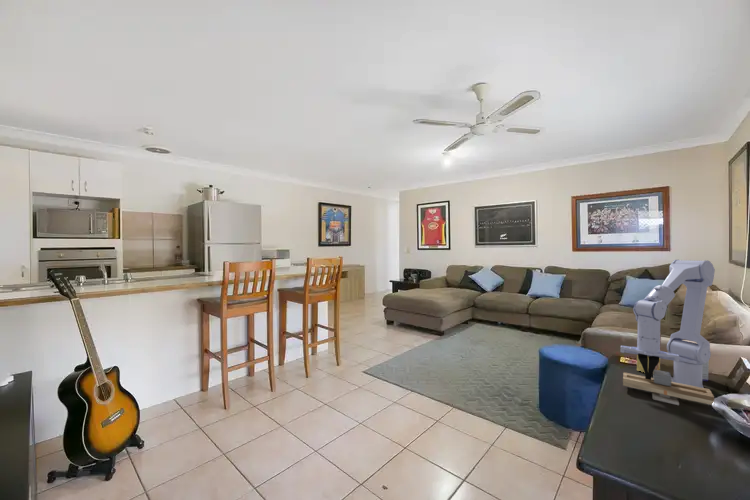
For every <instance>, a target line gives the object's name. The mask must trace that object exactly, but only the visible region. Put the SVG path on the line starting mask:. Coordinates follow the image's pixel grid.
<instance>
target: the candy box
mask: <svg viewBox="0 0 750 500" xmlns="http://www.w3.org/2000/svg"><path fill="white" fill-rule="evenodd" d="M661 335H662V333H661V332H660V349H661V343H662V342H661V340H662V336H661ZM648 368H649V356H648ZM654 370H660V371H661V358H659V363H658V364H657V366H656V367H655V369H654ZM639 371H641V372H640V373H643V372H644V369H643V367H642V364H641V362H640V360H639V358H638V355H637V354H636V372H639ZM644 374H645V372H644Z"/></svg>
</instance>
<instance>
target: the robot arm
mask: <svg viewBox="0 0 750 500" xmlns="http://www.w3.org/2000/svg"><path fill="white" fill-rule="evenodd" d="M668 272H669V273H668V275H667V276H666V278H665V280H663V282H662V283H661V285H655V286H654V287H653V288H652V289H651V290H650V292H649V293H648V294H647V295H645V298H643V299H640V300H637V301H636V302H635V303H634V305H633V308H632V311H633V314H634V315H635V322H637V329H636V330H637V333H636V334H637V339H636V340H637V342H636V346H627V345H620V353H622V354H625V353H627V354H633V355H636V356H637V355H638V358H639V360H640V362H641V364H642V367H643V369H644V372H645V373H644V376H645V378H646V379H650V380H651V378H652V377H653V371H654V369H655V367H656V366H657V364H658V363H659V358H660V360H663V359H664V360H667V361H673V376H671V382H676V383H681V384H686V385H691V386H696V387H701V388H704V385H703V381H702V367H703V364H705V363H706V362H708V361H709V360H710V359H711V355H712V353H711V348H710V347H711V343H710V341H709V340H708V339H706V338H705V337H704V336H703V335H701V330H702V324H703V323H702V322H703V318H704V317H703V316H704V310H705V304H706V298H707V291H708V287H711V286H713V283H714V278H715V272H716V270H715V266H714V265H713V263H712V261H710V260H706V259H705V260H691V259H689V260H687V259H686V260H685V259H684V260H683V259H681V260H680V259H674V260H673V261H671V263H670V265H669V271H668ZM681 285H684V286H685V288H686V291H685V297H684V302H683V310H682V315H681V322H680V328H679V330H678V331H676V332H673V333H671V334H670V337H669V340H668V341H667V342H666V343H667V344H666V351H667V352H666V351H663V350H661V348H660V333H661V320H662V319H663V318H665V315H666V311H667V309H668V306H669V304H670V303H671V302H672V300H673V299H674V298H675V296H676V294H675V291H676V290H677V289H678V288H679V287H680V286H681ZM648 356H649V368H648ZM709 362H710V361H709Z"/></svg>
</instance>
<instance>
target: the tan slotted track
mask: <svg viewBox="0 0 750 500" xmlns="http://www.w3.org/2000/svg"><path fill="white" fill-rule="evenodd" d="M622 374H623V377H622V386H624V387H628V388H632V389H633V388H634V389H637V390H642V391H647V392H651V395H652V397H651V398H652V399H653V400H655V401H658V402H662V403H668V404H672V405H677V406H680V402H679V398H680V399H682V400H683V399H684V400H688V401H693V402H698V403H702V404H707V405H711V406H713V405H712V403H713V402H714V403H715V396H714V394H713V393H712V391H711V389H710V388H706V387H705V388H701V387H696V386H691V385H686V384H681V383H676V382H672V381H671V386H666V385H661V384H656V383H654V380H653V377H651V380H650V379H646V378H645V375H639V374H635V373H630V372H625V371H623V373H622Z"/></svg>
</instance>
